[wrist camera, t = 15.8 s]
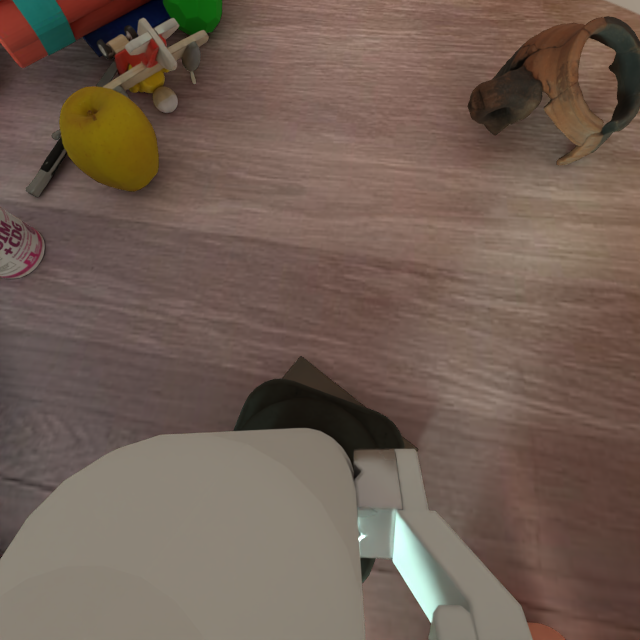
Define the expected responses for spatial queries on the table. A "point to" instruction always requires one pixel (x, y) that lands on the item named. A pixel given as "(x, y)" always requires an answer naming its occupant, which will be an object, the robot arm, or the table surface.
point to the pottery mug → (562, 84)
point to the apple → (109, 138)
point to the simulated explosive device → (69, 24)
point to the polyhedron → (195, 14)
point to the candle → (205, 532)
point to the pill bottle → (18, 247)
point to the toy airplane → (151, 60)
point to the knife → (60, 148)
